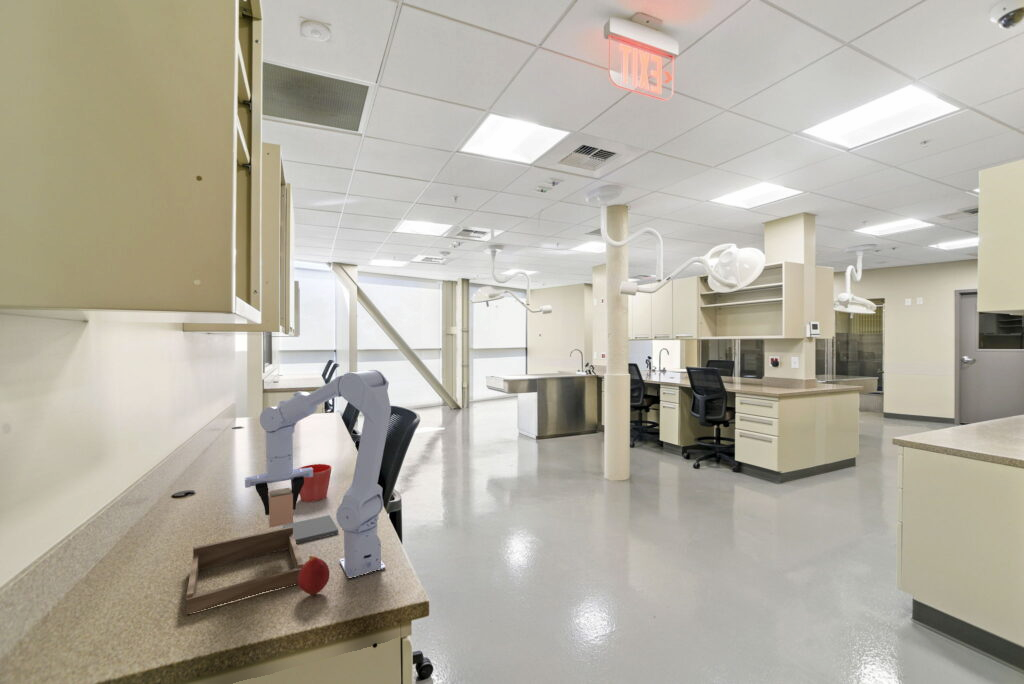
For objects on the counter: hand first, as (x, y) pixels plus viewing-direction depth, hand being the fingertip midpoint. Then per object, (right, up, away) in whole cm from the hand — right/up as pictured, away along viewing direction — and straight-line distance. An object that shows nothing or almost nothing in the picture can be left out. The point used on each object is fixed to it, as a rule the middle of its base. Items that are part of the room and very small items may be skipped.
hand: (280, 511), depth 106 cm
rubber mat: (+2, -10, +12) cm, 15 cm away
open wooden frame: (-1, -10, -11) cm, 15 cm away
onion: (+16, -10, -18) cm, 27 cm away
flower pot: (-9, -10, +37) cm, 39 cm away
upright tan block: (0, -3, 0) cm, 3 cm away
